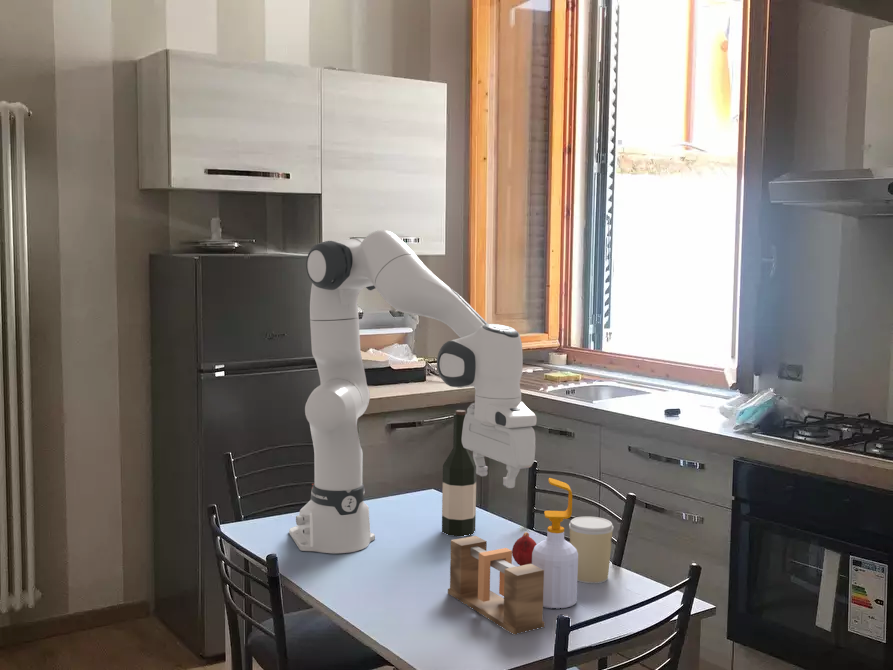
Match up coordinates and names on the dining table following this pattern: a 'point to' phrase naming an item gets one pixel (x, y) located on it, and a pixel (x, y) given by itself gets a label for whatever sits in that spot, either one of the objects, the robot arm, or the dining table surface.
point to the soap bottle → (557, 559)
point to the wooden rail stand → (510, 612)
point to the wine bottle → (459, 486)
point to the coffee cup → (592, 547)
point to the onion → (523, 550)
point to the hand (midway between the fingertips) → (495, 481)
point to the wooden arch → (485, 571)
